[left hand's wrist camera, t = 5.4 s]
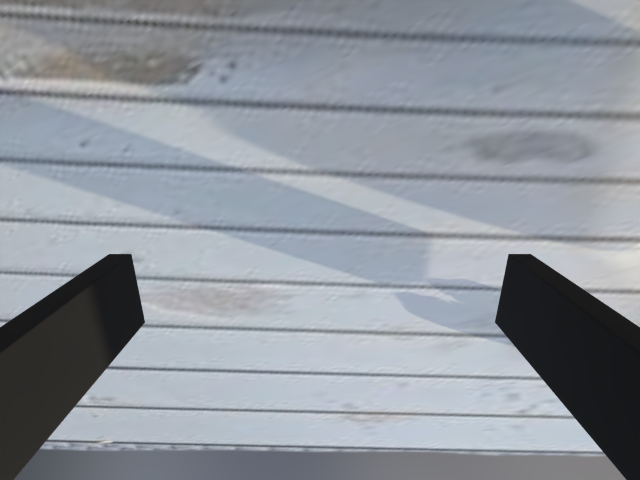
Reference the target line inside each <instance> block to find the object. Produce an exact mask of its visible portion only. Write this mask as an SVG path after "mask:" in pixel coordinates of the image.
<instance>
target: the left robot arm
mask: <svg viewBox="0 0 640 480" xmlns="http://www.w3.org/2000/svg"><path fill="white" fill-rule="evenodd" d="M144 323H145V320H144V315H143V310H142V305H141V300H140V295H139V290H138V285H137V280H136V275H135V270H134V265H133V260H132V255H131V254H109V255H107V256H106V257H104V258H103V259H101V260H100V261H98V262H97V263H95V264H94V265H92V266H91V267H89V268H88V269H87V270H85V271H84V272H82V273H81V274H79V275H78V276H76V277H75V278H73V279H72V280H70V281H69V282H67V283H66V284H64V285H63V286H61V287H60V288H58V289H57V290H55V291H54V292H52V293H51V294H49V295H48V296H46V297H45V298H43V299H42V300H40V301H39V302H37V303H36V304H34V305H33V306H31V307H30V308H28V309H27V310H25V311H24V312H22V313H21V314H20V315H18V316H17V317H15V318H14V319H12V320H11V321H9V322H8V323H6V324H5V325H3V326H2V327H0V480H14V478H15V477H16V476H17V475H18V474H19V472H20V471H21V470H22V469H23V468H24V466H25V465H26V464H27V463H28V462H29V460H30V459H31V458H32V457H33V456H34V454H35V453H36V452H37V451H38V450H39V448H40V447H41V446H42V445H43V444H44V442H45V441H46V440H47V439H48V438H49V436H50V435H51V434H52V433H53V432H54V431H55V429H56V428H57V427H58V426H59V425H60V423H61V422H62V421H63V420H64V419H65V417H66V416H67V415H68V414H69V413H70V411H71V410H72V409H73V408H74V407H75V405H76V404H77V403H78V402H79V401H80V399H81V398H82V397H83V396H84V395H85V393H86V392H87V391H88V390H89V389H90V387H91V386H92V385H93V384H94V383H95V381H96V380H97V379H98V378H99V377H100V375H101V374H102V373H103V372H104V371H105V369H106V368H107V367H108V366H109V365H110V363H111V362H112V361H113V360H114V359H115V357H116V356H117V355H118V354H119V353H120V351H121V350H122V349H123V348H124V347H125V346H126V344H127V343H128V342H129V341H130V340H131V338H132V337H133V336H134V335H135V334H136V332H137V331H138V330H139V329H140V328H141V326H142V325H143V324H144ZM495 323H496V324H497V325H498V326H499V328H500V329H501V330H502V331H503V332H504V334H505V335H506V336H507V337H508V338H509V340H510V341H511V342H512V343H513V344H514V346H515V347H516V348H517V349H518V350H519V351H520V353H521V354H522V355H523V356H524V357H525V359H526V360H527V361H528V362H529V363H530V365H531V366H532V367H533V368H534V369H535V371H536V372H537V373H538V374H539V375H540V377H541V378H542V379H543V380H544V381H545V383H546V384H547V385H548V386H549V387H550V389H551V390H552V391H553V392H554V393H555V395H556V396H557V397H558V398H559V399H560V401H561V402H562V403H563V404H564V405H565V407H566V408H567V409H568V410H569V411H570V413H571V414H572V415H573V416H574V417H575V419H576V420H577V421H578V422H579V423H580V425H581V426H582V427H583V428H584V429H585V431H586V432H587V433H588V434H589V435H590V436H591V438H592V439H593V440H594V441H595V442H596V444H597V445H598V446H599V447H600V448H601V450H602V451H603V452H604V453H605V454H606V456H607V457H608V458H609V459H610V460H611V462H612V463H613V464H614V465H615V466H616V468H617V469H618V470H619V471H620V472H621V474H622V475H623V476H624V477H625V478H626V480H640V327H638V326H637V325H635V324H634V323H632V322H631V321H629V320H628V319H626V318H625V317H623V316H622V315H620V314H619V313H618V312H616V311H615V310H613V309H612V308H610V307H609V306H607V305H606V304H604V303H603V302H601V301H600V300H598V299H597V298H595V297H594V296H592V295H591V294H589V293H588V292H586V291H585V290H583V289H582V288H580V287H579V286H577V285H576V284H574V283H573V282H571V281H570V280H568V279H567V278H565V277H564V276H562V275H561V274H559V273H558V272H556V271H555V270H553V269H552V268H551V267H549V266H548V265H546V264H545V263H543V262H542V261H540V260H539V259H537V258H536V257H534V256H533V255H531V254H509V255H508V260H507V265H506V270H505V275H504V280H503V285H502V290H501V295H500V300H499V305H498V310H497V315H496V320H495Z"/></svg>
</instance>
